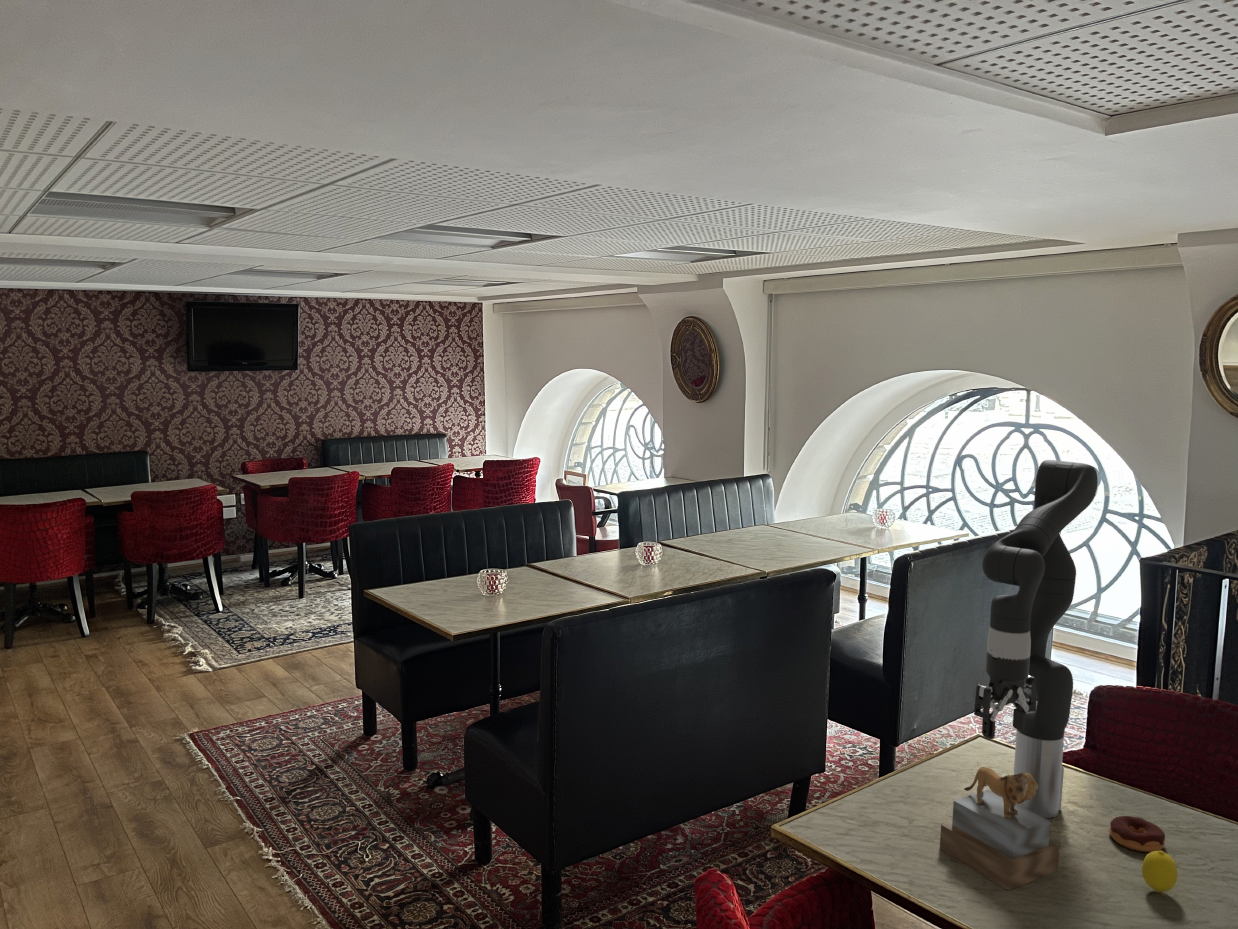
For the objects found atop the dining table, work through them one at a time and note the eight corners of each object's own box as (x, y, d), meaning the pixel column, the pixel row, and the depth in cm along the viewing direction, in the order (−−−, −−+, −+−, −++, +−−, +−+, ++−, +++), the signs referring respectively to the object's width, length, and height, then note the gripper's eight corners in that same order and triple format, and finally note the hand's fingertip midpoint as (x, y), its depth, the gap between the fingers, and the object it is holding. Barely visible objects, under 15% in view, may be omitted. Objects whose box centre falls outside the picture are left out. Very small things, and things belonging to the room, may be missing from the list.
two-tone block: (988, 831, 186) (991, 785, 185) (1058, 870, 172) (1061, 821, 171) (939, 848, 180) (942, 800, 178) (1008, 890, 166) (1011, 839, 164)
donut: (1112, 824, 190) (1113, 806, 189) (1166, 839, 184) (1168, 821, 184) (1104, 845, 182) (1106, 826, 181) (1161, 861, 176) (1163, 842, 176)
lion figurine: (1040, 819, 172) (1043, 774, 170) (1025, 827, 168) (1028, 781, 167) (971, 788, 183) (973, 746, 182) (955, 795, 180) (958, 752, 179)
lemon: (1133, 884, 168) (1137, 843, 167) (1161, 883, 169) (1165, 842, 168) (1153, 902, 163) (1157, 860, 162) (1182, 900, 163) (1186, 859, 162)
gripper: (1016, 640, 178) (1011, 719, 180) (966, 651, 171) (961, 733, 173) (1050, 651, 171) (1045, 733, 173) (999, 663, 165) (994, 748, 167)
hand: (1003, 733), depth 173 cm, fingers open, 8 cm apart
